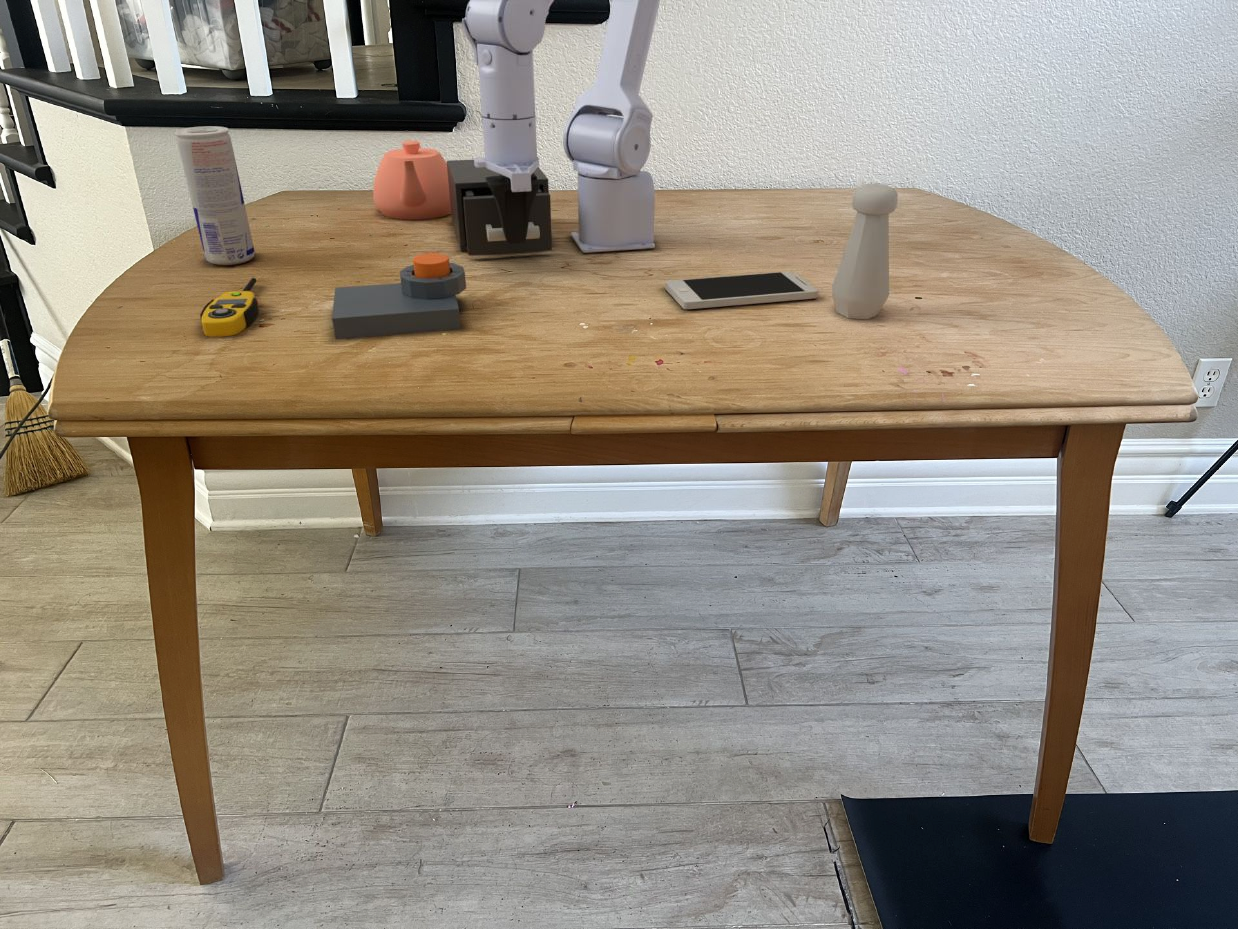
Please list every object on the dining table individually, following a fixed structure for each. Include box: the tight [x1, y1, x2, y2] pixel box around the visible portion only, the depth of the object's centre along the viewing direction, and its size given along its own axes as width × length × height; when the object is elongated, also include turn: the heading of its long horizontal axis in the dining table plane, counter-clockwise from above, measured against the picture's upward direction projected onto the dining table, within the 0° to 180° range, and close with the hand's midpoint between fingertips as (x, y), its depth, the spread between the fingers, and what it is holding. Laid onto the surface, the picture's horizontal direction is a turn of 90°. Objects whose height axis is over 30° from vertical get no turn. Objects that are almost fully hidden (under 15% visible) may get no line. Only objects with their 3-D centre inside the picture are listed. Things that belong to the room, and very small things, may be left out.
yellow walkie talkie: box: [199, 277, 259, 338], centre depth 89 cm, size 5×2×15 cm
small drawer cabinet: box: [446, 159, 550, 253], centre depth 112 cm, size 13×11×8 cm
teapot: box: [372, 140, 451, 220], centre depth 121 cm, size 12×18×10 cm
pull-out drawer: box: [461, 187, 553, 257], centre depth 106 cm, size 17×10×7 cm, turn 14°
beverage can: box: [174, 125, 256, 266], centre depth 100 cm, size 6×6×15 cm
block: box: [331, 262, 467, 340], centre depth 87 cm, size 13×10×4 cm
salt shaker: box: [831, 183, 899, 320], centre depth 87 cm, size 6×6×13 cm
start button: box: [412, 252, 450, 278], centre depth 88 cm, size 4×4×2 cm
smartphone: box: [664, 270, 819, 310], centre depth 94 cm, size 7×16×1 cm, turn 105°
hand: (515, 241), depth 99 cm, fingers closed
